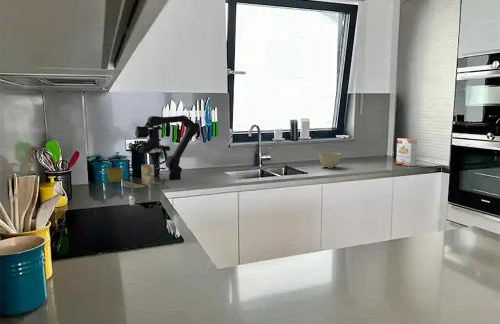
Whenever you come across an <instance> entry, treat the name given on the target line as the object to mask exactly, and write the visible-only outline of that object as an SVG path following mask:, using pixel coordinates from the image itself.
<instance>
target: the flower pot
mask: <svg viewBox="0 0 500 324" xmlns="http://www.w3.org/2000/svg"><path fill="white" fill-rule="evenodd" d="M106 173H107V178H108V181H109V183H111V184H112V183H118V182H119V183H120V182H122V180H123V167H110V168H106Z"/></svg>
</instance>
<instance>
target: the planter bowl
mask: <svg viewBox="0 0 500 324" xmlns="http://www.w3.org/2000/svg"><path fill="white" fill-rule="evenodd" d="M341 155H342V154H341V153H340V152H331V151H329V152H328V151H325V152H319V153H318V156H319V157H318V158H319V161H320V164H321V165H322V168H324V167H328V168H327V169H334V168H333V167H336V168H337V166H338V164H339V163H340V160H341Z"/></svg>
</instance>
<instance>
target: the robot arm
mask: <svg viewBox="0 0 500 324" xmlns="http://www.w3.org/2000/svg"><path fill="white" fill-rule="evenodd" d="M174 123H181V124H182V125H183V127H185V129H184V135H183V136H182V139H181V141H180V142H179V144H178V146H177V147H176V149H175V151H174V152H173V154H172V155H168V156H167V158H166V160H165V167H166V169H168V171H169V173H168V180H169V181H178V180H180V181H181V180H182V175H181V174H182V172H183V168H182V167H181V166H180V161H181V157H182V155H183V153H185V152H184V151H185V150H186V149H187V146H188V145H189V143H190V141H191V139H192V138H193V137H194V136H195V135H196V134H197V133H198V132H199V130H200V125H199V123H195V122H194V121H193V120H191V119H190V118H189V117H187V115H184V114H183V115H173V116H157V115H156V116H155V115H150V116H149V117H148V118H147V121H146V123H145V125H144V126H140V125H138V126H136V128H135V133H134V134H135V137H136V139H145V138H146V139H147V138H148V139H147V142H146V141H141V143H140V146H141V147H139V148H138V153H140V154H148V155H150V158H151V160H152V162H153V165H157V163H158V161H159V158H160V156H161V154H162V153H163V151H166V152H169V151H171V146H169V145H160V141H161V138H160V130H161V131H162V130H163V128H162V127H161V125H164V124H174Z"/></svg>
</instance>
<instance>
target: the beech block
mask: <svg viewBox="0 0 500 324" xmlns="http://www.w3.org/2000/svg"><path fill="white" fill-rule="evenodd" d="M140 165H141V167H140V169H141V184H145V186H150V185H149V184H154V181H155V164H151V163H146V164H145V163H144V164H140Z"/></svg>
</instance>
